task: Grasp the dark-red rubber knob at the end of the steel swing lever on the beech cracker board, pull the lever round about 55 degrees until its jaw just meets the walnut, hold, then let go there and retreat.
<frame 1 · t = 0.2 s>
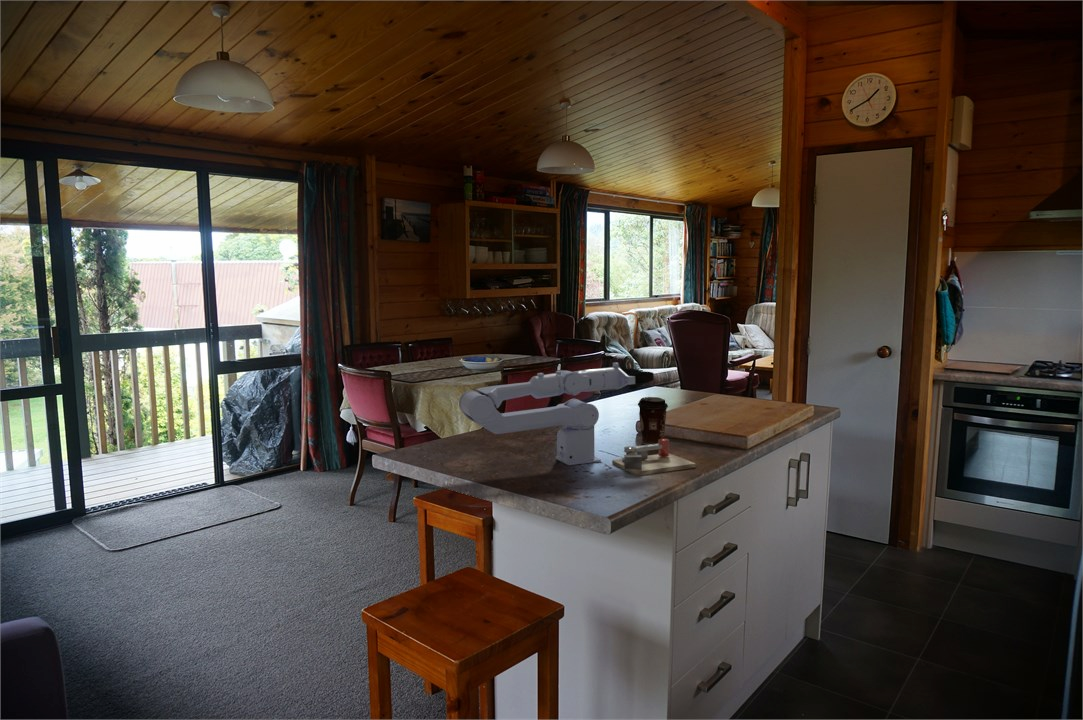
hand: (645, 374, 189), 21 cm above the countertop, tool horizontal, fingers open, 7 cm apart
coffee cup: (652, 444, 202), on the countertop
cracker base: (630, 465, 179), on the countertop
lever: (646, 450, 180), point 3 cm above the countertop, hinge at 0.0°
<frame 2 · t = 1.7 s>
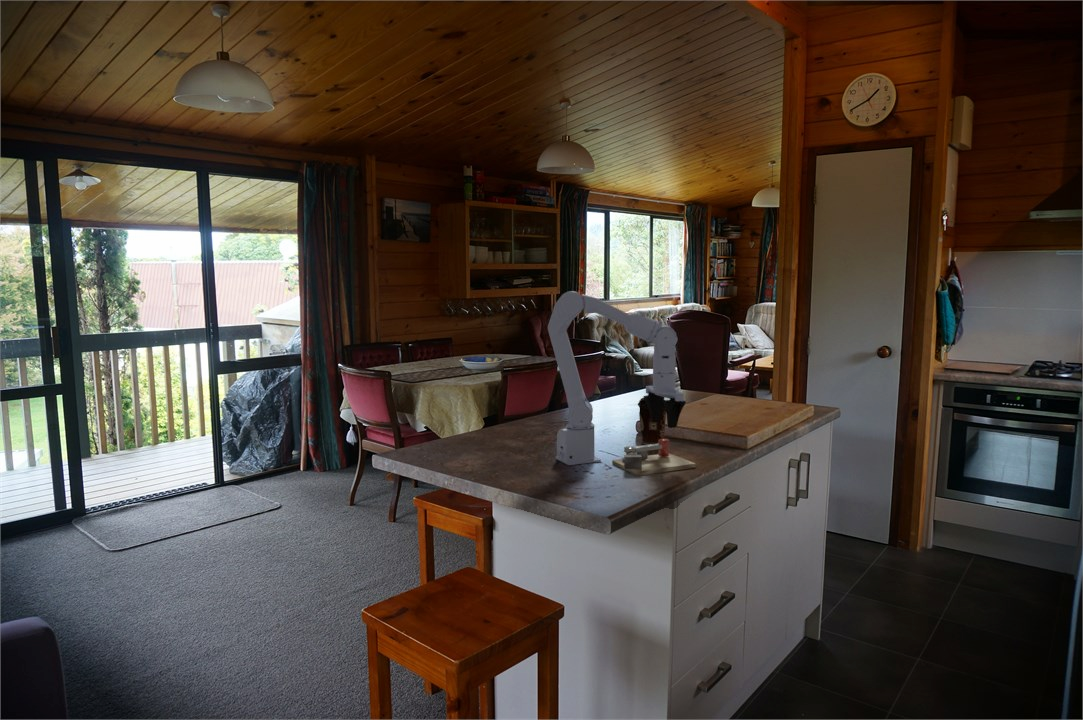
hand: (663, 424, 181), 10 cm above the countertop, tool pointing down, fingers open, 7 cm apart
nothing on the countertop moved.
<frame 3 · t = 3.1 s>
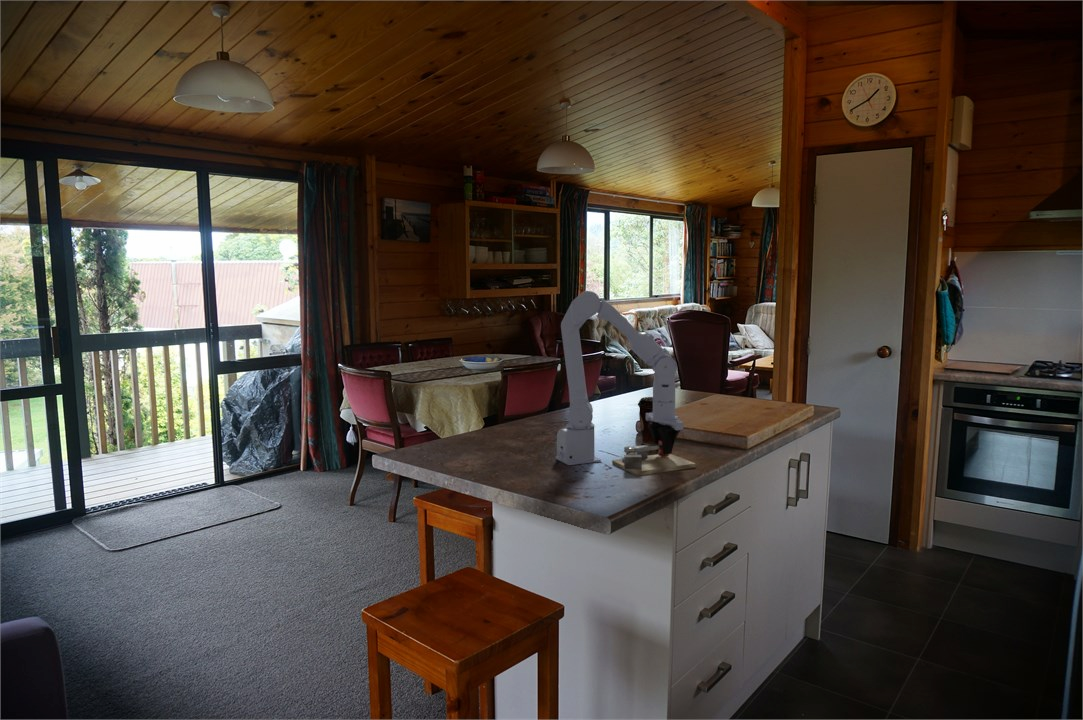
hand: (663, 452, 182), 2 cm above the countertop, tool pointing down, fingers closed on lever, 3 cm apart
lever: (646, 450, 180), point 3 cm above the countertop, hinge at 0.0°, touching gripper
everything else where it was.
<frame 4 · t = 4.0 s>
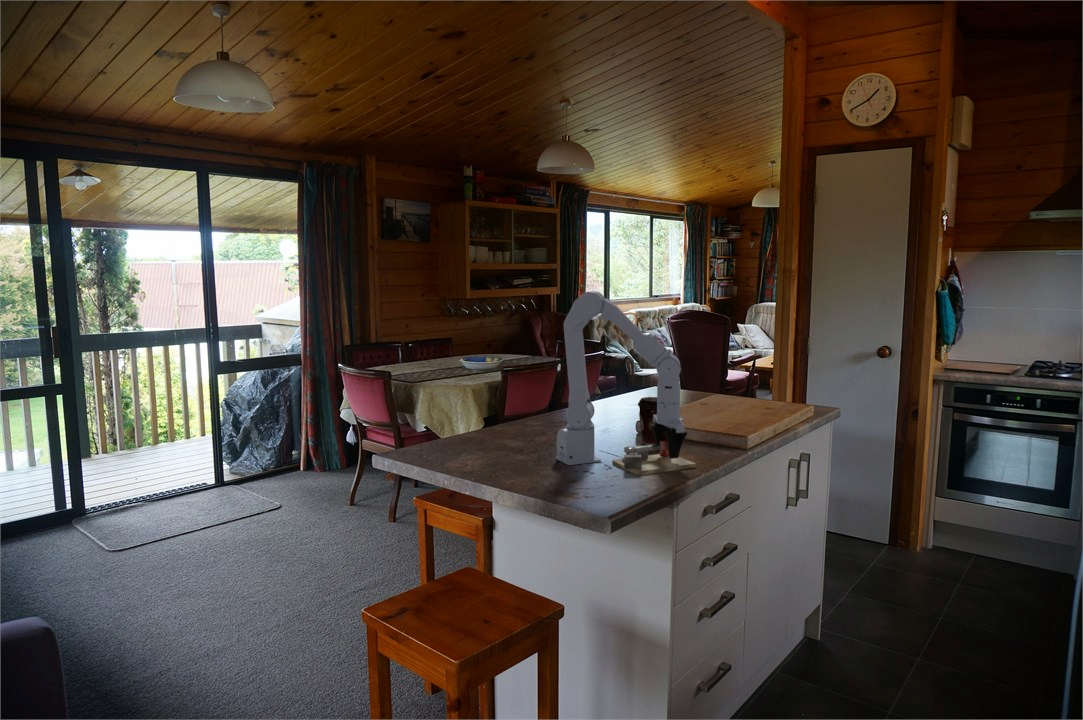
hand: (668, 454, 180), 2 cm above the countertop, tool pointing down, fingers open, 6 cm apart
lever: (647, 450, 180), point 3 cm above the countertop, hinge at -4.1°, touching gripper
everything else where it was.
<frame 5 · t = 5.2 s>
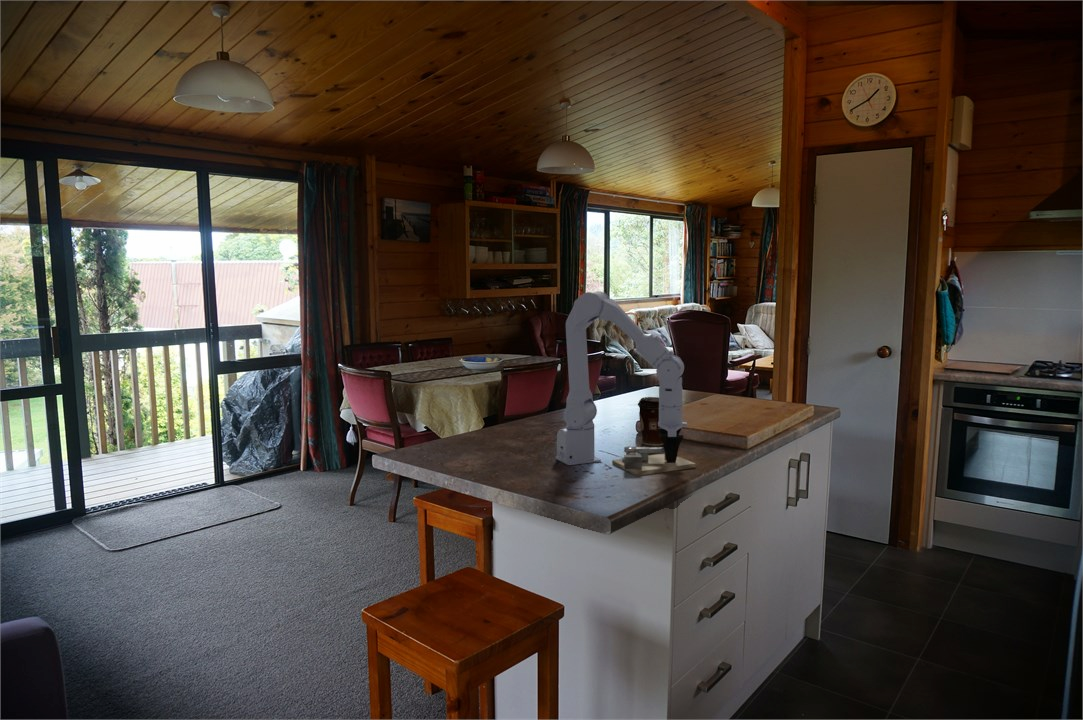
hand: (670, 459, 176), 2 cm above the countertop, tool pointing down, fingers open, 6 cm apart
lever: (649, 452, 178), point 3 cm above the countertop, hinge at -28.7°, touching gripper
everything else where it was.
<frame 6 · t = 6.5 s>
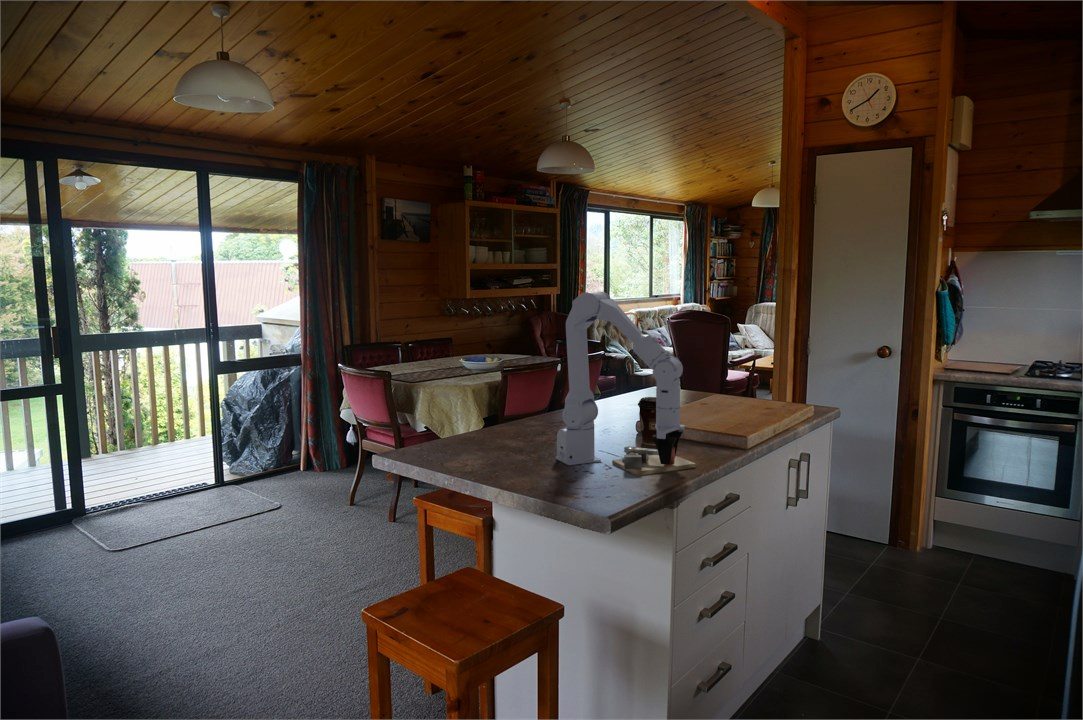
hand: (667, 461, 173), 2 cm above the countertop, tool pointing down, fingers open, 5 cm apart
lever: (649, 453, 176), point 3 cm above the countertop, hinge at -48.6°, touching gripper
everything else where it was.
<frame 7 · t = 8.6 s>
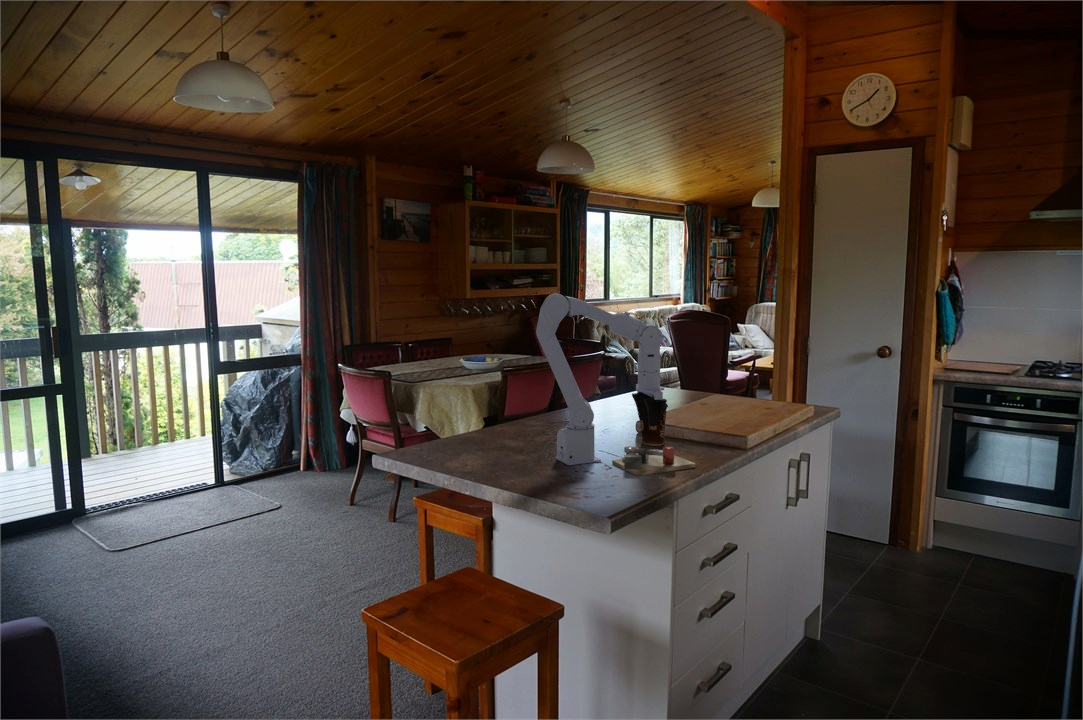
hand: (648, 422, 183), 10 cm above the countertop, tool pointing down, fingers open, 7 cm apart
lever: (648, 454, 176), point 3 cm above the countertop, hinge at -51.0°
everything else where it was.
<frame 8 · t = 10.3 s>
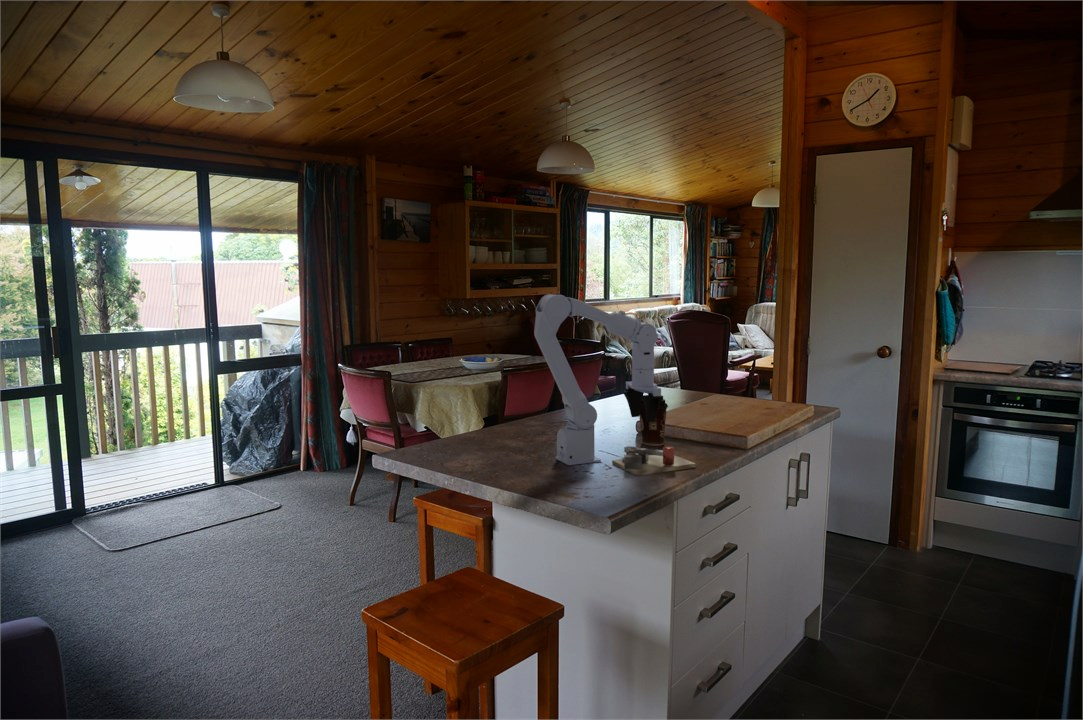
hand: (642, 419, 187), 10 cm above the countertop, tool pointing down, fingers open, 7 cm apart
nothing on the countertop moved.
at the end: lever at -51° (first picture: +0°); the gripper is holding nothing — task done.
